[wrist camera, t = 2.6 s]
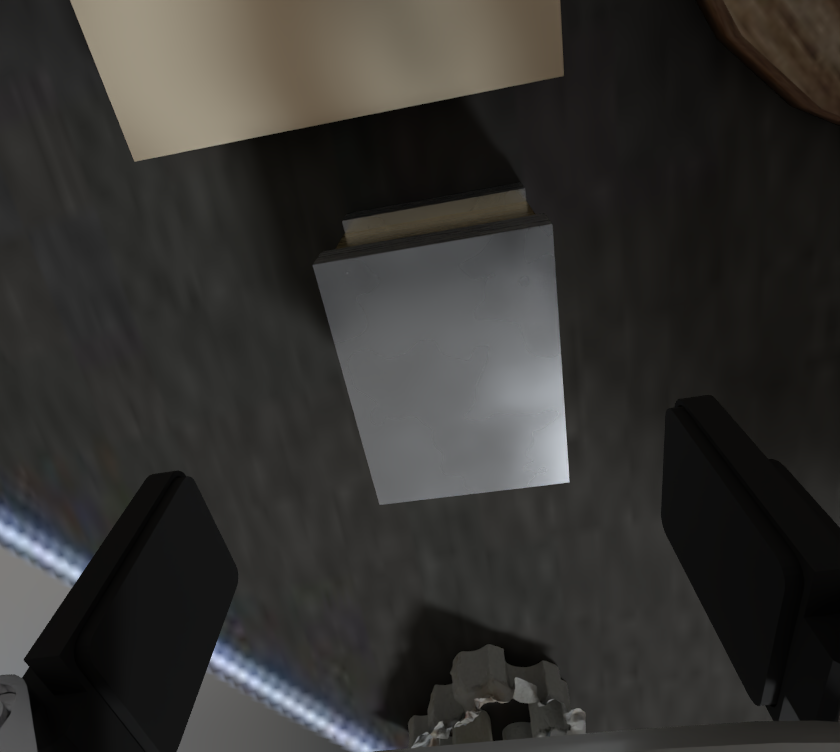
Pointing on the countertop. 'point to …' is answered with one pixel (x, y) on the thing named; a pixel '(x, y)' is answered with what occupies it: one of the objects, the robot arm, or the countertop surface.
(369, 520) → the countertop surface
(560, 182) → the countertop surface
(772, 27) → the trivet
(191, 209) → the countertop surface
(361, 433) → the block
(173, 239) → the countertop surface
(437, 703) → the egg carton
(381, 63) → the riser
